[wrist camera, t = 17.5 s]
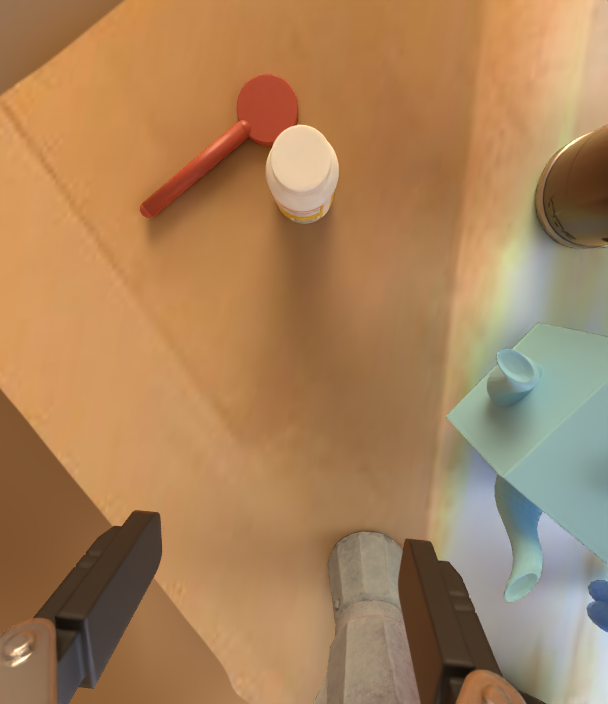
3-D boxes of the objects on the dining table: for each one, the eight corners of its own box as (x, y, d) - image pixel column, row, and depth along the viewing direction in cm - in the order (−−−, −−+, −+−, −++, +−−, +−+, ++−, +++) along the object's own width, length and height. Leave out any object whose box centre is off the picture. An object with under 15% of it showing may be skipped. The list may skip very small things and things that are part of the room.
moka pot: (302, 522, 39) (289, 764, 20) (443, 527, 39) (571, 779, 19) (301, 594, 41) (288, 878, 22) (435, 600, 41) (544, 895, 21)
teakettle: (618, 483, 37) (809, 613, 23) (436, 497, 38) (509, 630, 24) (632, 301, 33) (873, 321, 19) (430, 322, 34) (512, 355, 20)
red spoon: (164, 239, 34) (157, 237, 32) (127, 191, 33) (119, 188, 31) (310, 120, 31) (310, 113, 30) (274, 65, 30) (272, 55, 29)
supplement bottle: (304, 236, 33) (299, 221, 24) (262, 193, 32) (241, 160, 23) (346, 192, 32) (359, 158, 23) (304, 146, 32) (300, 92, 22)
